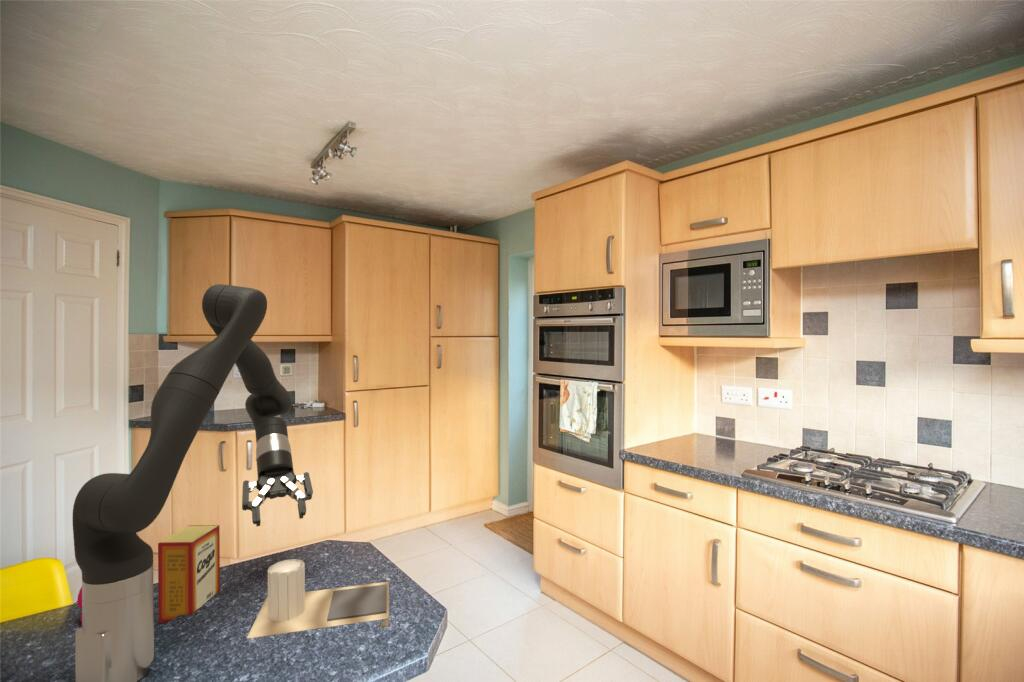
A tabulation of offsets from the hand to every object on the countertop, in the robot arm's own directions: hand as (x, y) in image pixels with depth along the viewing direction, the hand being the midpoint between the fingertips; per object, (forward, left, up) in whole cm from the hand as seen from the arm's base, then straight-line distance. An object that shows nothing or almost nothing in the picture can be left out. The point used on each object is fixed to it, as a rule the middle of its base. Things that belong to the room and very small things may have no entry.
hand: (280, 520), depth 106 cm
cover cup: (-7, -8, -15) cm, 18 cm away
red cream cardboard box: (-9, +14, -17) cm, 24 cm away
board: (-4, -14, -16) cm, 22 cm away
